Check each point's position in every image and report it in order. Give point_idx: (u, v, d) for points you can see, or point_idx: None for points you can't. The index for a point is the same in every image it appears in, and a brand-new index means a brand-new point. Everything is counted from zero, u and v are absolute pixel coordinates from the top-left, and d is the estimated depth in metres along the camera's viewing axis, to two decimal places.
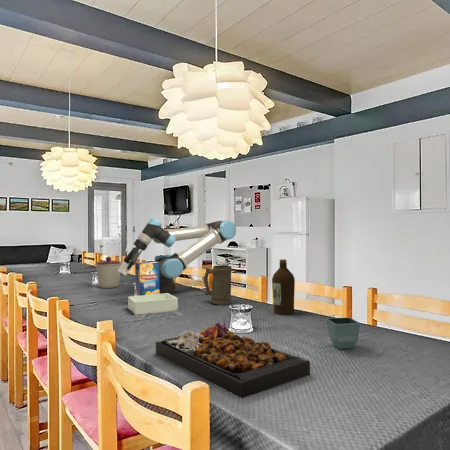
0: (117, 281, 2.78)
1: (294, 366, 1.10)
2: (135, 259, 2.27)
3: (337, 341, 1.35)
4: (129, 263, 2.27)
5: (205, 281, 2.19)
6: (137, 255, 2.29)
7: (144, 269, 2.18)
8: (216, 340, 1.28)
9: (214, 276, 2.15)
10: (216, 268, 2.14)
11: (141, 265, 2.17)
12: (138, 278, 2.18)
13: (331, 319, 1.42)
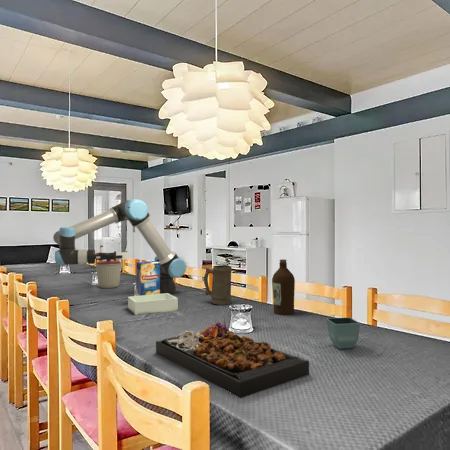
0: (117, 281, 2.78)
1: (293, 366, 1.10)
2: (108, 256, 2.08)
3: (337, 341, 1.35)
4: (115, 258, 2.11)
5: (205, 281, 2.19)
6: (103, 256, 2.09)
7: (145, 269, 2.16)
8: (216, 340, 1.28)
9: (214, 276, 2.15)
10: (216, 268, 2.14)
11: (142, 265, 2.15)
12: (139, 278, 2.17)
13: (331, 319, 1.42)
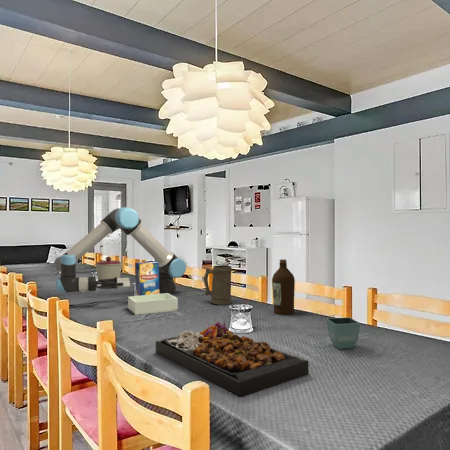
0: None
1: (292, 366, 1.11)
2: (109, 284, 2.08)
3: (337, 341, 1.35)
4: (116, 286, 2.11)
5: (205, 281, 2.19)
6: (104, 284, 2.09)
7: (144, 269, 2.18)
8: (215, 340, 1.28)
9: (214, 276, 2.15)
10: (216, 268, 2.14)
11: (141, 265, 2.17)
12: (138, 278, 2.18)
13: (331, 319, 1.42)
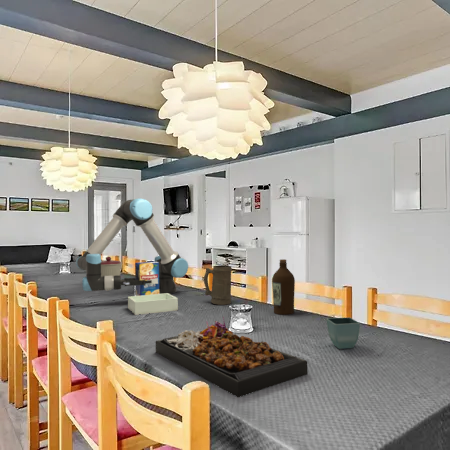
0: None
1: (291, 366, 1.11)
2: (138, 282, 2.15)
3: (337, 341, 1.35)
4: None
5: (205, 281, 2.19)
6: (133, 282, 2.14)
7: (144, 269, 2.18)
8: (215, 339, 1.29)
9: (214, 276, 2.15)
10: (216, 268, 2.14)
11: (141, 265, 2.17)
12: (138, 278, 2.18)
13: (331, 319, 1.42)
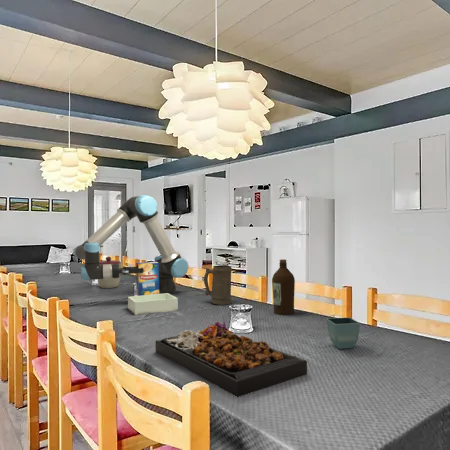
0: (117, 281, 2.78)
1: (291, 365, 1.11)
2: (137, 270, 2.15)
3: (337, 341, 1.35)
4: None
5: (205, 281, 2.19)
6: (132, 270, 2.14)
7: None
8: (215, 339, 1.29)
9: (214, 276, 2.15)
10: (216, 268, 2.14)
11: (140, 265, 2.17)
12: (137, 278, 2.19)
13: (331, 319, 1.42)
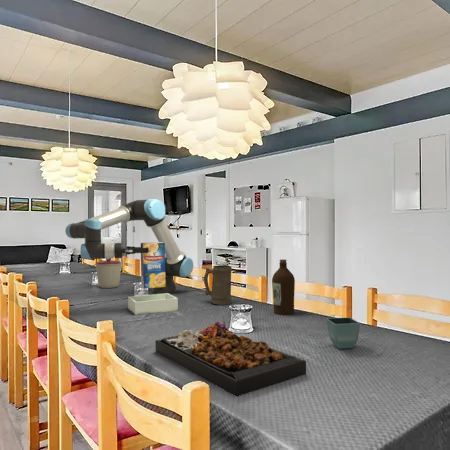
0: (117, 281, 2.78)
1: (290, 365, 1.11)
2: (142, 249, 1.98)
3: (337, 341, 1.35)
4: None
5: (205, 281, 2.19)
6: (136, 250, 1.98)
7: None
8: (214, 339, 1.29)
9: (214, 276, 2.15)
10: (216, 268, 2.14)
11: (144, 245, 2.00)
12: (142, 259, 2.02)
13: (331, 319, 1.42)
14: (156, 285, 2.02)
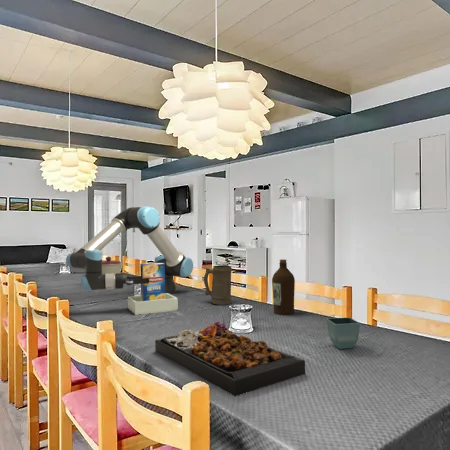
0: None
1: (289, 365, 1.11)
2: (143, 280, 1.98)
3: (337, 341, 1.35)
4: None
5: (205, 281, 2.19)
6: (137, 281, 1.97)
7: (148, 271, 2.00)
8: (214, 339, 1.29)
9: (214, 276, 2.15)
10: (216, 268, 2.14)
11: (144, 266, 2.00)
12: None
13: (331, 319, 1.42)
14: None
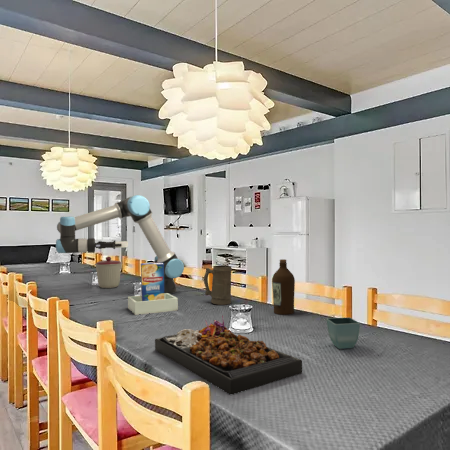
0: (117, 281, 2.78)
1: (285, 365, 1.12)
2: (108, 245, 2.14)
3: (337, 341, 1.35)
4: (115, 247, 2.16)
5: (205, 281, 2.19)
6: (103, 245, 2.14)
7: (146, 271, 2.01)
8: (212, 338, 1.30)
9: (214, 276, 2.15)
10: (216, 268, 2.14)
11: (143, 266, 2.00)
12: (141, 280, 2.02)
13: (331, 319, 1.42)
14: None
